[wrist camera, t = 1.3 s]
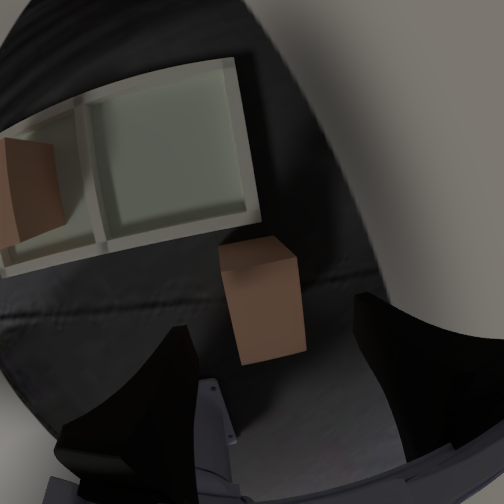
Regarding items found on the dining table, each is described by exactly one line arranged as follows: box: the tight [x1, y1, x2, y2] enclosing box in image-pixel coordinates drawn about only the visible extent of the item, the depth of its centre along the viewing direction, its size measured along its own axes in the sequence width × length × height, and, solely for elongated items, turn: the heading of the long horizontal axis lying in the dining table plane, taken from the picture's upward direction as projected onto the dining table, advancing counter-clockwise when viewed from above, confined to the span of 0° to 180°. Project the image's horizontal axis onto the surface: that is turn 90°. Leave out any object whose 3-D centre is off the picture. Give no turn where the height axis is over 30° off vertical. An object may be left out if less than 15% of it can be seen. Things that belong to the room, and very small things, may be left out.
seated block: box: [0, 137, 66, 250], centre depth 14 cm, size 6×4×6 cm, turn 9°
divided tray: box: [0, 57, 262, 279], centre depth 17 cm, size 11×21×2 cm, turn 99°
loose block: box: [218, 235, 307, 365], centre depth 19 cm, size 6×4×6 cm, turn 9°
